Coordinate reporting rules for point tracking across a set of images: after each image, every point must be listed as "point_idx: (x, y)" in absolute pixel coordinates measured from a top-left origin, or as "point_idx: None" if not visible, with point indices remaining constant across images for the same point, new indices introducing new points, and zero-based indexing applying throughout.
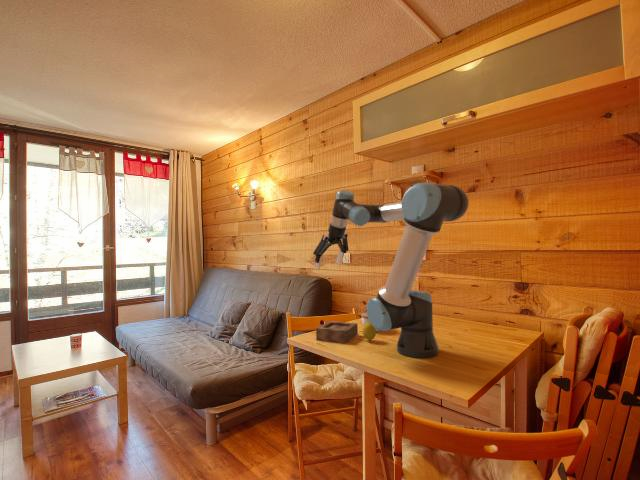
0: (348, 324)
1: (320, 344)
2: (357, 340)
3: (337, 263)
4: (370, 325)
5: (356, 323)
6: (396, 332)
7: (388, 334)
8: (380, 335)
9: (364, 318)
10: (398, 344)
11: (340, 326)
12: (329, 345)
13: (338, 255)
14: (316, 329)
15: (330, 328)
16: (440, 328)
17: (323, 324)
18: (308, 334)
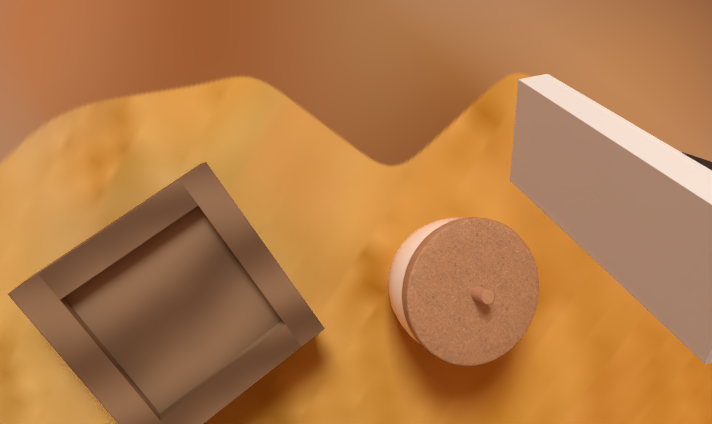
0: (271, 304)
1: (4, 377)
2: (243, 406)
3: (516, 130)
4: None
5: (319, 326)
6: (497, 373)
7: (443, 385)
8: (400, 381)
9: (401, 302)
10: None
11: (224, 275)
12: (45, 419)
13: (637, 186)
14: (11, 295)
15: (97, 356)
16: (686, 413)
17: (110, 229)
18: (39, 132)
